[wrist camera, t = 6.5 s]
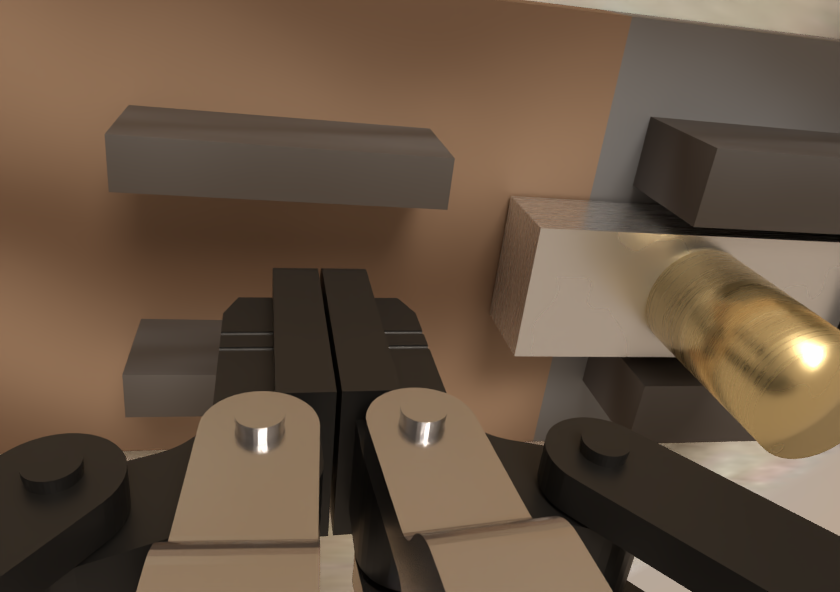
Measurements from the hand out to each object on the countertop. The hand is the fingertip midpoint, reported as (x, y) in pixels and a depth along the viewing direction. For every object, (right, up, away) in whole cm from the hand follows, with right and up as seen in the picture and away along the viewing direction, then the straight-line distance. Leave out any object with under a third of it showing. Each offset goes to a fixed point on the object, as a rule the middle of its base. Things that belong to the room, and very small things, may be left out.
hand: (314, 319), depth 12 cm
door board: (+1, +2, +6) cm, 6 cm away
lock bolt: (+7, +1, +6) cm, 10 cm away
